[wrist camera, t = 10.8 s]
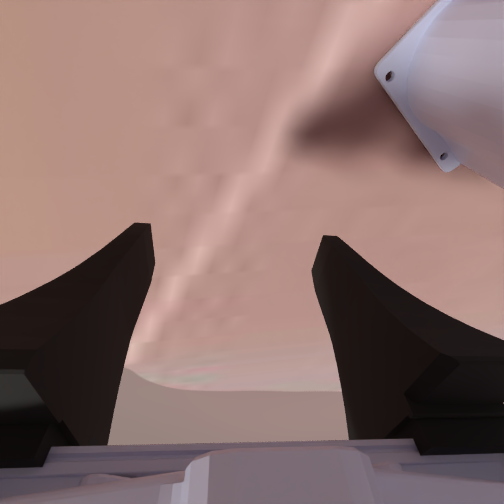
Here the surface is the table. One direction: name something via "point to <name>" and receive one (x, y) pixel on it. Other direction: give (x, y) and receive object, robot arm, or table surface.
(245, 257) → the table surface
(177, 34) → the table surface
